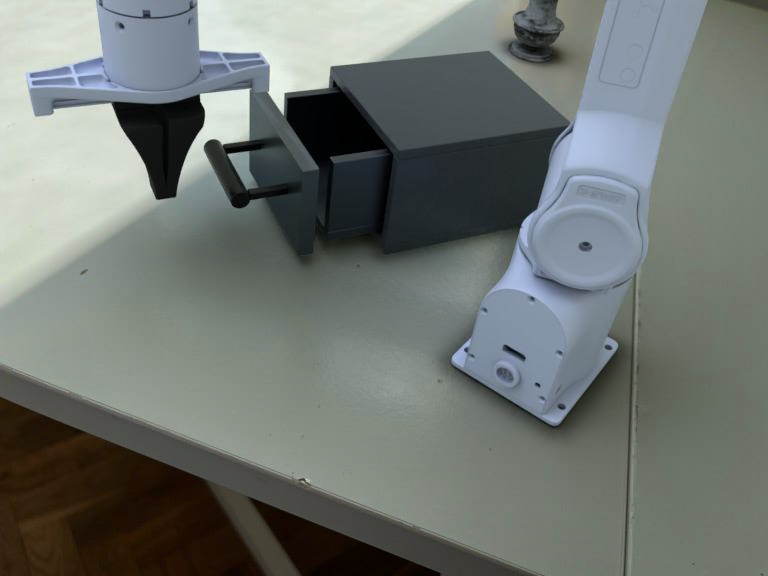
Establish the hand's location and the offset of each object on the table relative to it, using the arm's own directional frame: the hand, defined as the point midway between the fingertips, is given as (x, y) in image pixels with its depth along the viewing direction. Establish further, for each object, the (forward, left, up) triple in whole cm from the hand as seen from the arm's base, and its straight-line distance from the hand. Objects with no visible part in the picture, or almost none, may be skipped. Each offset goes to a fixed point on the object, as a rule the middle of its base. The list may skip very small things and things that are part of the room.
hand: (163, 190), depth 55 cm
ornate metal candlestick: (+51, -2, -4) cm, 52 cm away
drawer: (+11, -6, -3) cm, 13 cm away
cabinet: (+19, -10, -4) cm, 22 cm away
